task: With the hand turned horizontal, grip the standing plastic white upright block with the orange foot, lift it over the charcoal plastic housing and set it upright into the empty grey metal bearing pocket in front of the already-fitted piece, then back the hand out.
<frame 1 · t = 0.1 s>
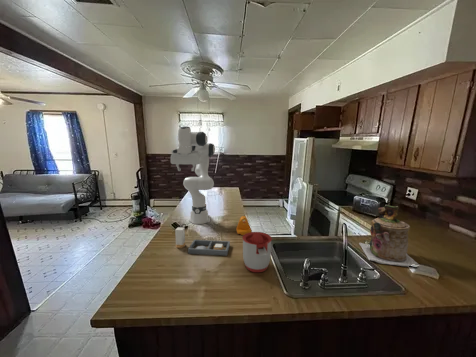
hand: (185, 170, 147), 48 cm above the counter, tool pointing down, fingers open, 8 cm apart
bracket: (244, 233, 162), on the counter
white upright block: (180, 246, 140), on the counter
cookie jar: (385, 255, 129), on the counter
housing: (209, 249, 136), on the counter
citrus juicer: (257, 268, 116), on the counter
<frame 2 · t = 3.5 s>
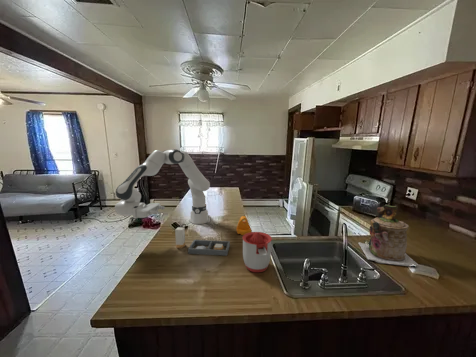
hand: (161, 210, 137), 24 cm above the counter, tool horizontal, fingers open, 8 cm apart
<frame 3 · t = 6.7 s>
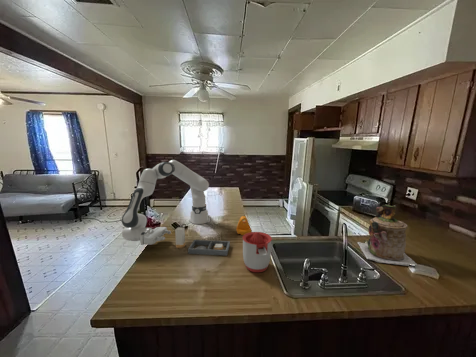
hand: (167, 235, 139), 7 cm above the counter, tool horizontal, fingers open, 8 cm apart
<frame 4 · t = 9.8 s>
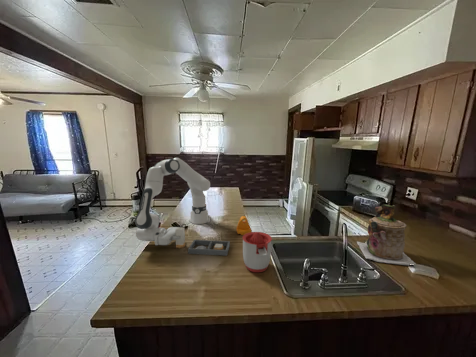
hand: (181, 235, 139), 7 cm above the counter, tool horizontal, fingers closed on white upright block, 4 cm apart
white upright block: (180, 246, 140), on the counter, touching gripper
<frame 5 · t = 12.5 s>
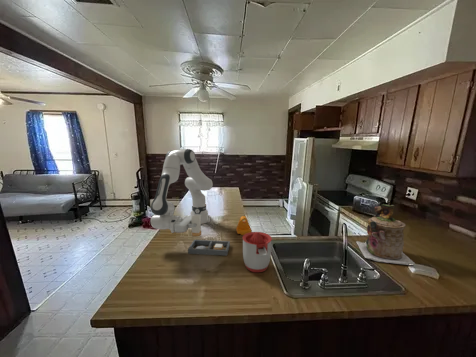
hand: (197, 223, 134), 17 cm above the counter, tool horizontal, fingers closed on white upright block, 4 cm apart
white upright block: (196, 234, 135), point 10 cm above the counter, touching gripper
when the fingers open (9 cm above the counter, at t = 15.5 s): white upright block drops 1 cm, resting on housing.
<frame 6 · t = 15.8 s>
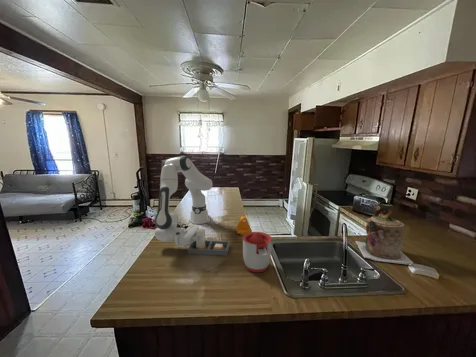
hand: (202, 235, 135), 9 cm above the counter, tool horizontal, fingers open, 7 cm apart
white upright block: (200, 248, 136), resting on housing
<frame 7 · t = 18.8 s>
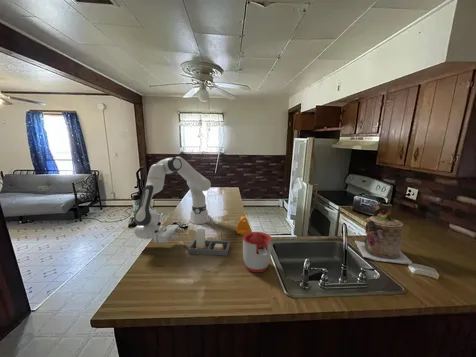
hand: (181, 233, 136), 10 cm above the counter, tool horizontal, fingers open, 8 cm apart
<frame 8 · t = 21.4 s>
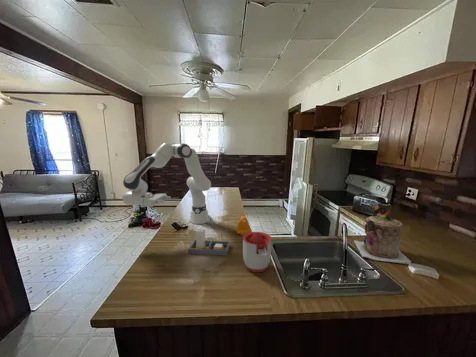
hand: (167, 199, 140), 30 cm above the counter, tool horizontal, fingers open, 8 cm apart
at the end: white upright block inside the target area on the housing (0.1 cm from its centre), point 0.4 cm above the housing's base; white upright block tilted 0°; the gripper is holding nothing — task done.
